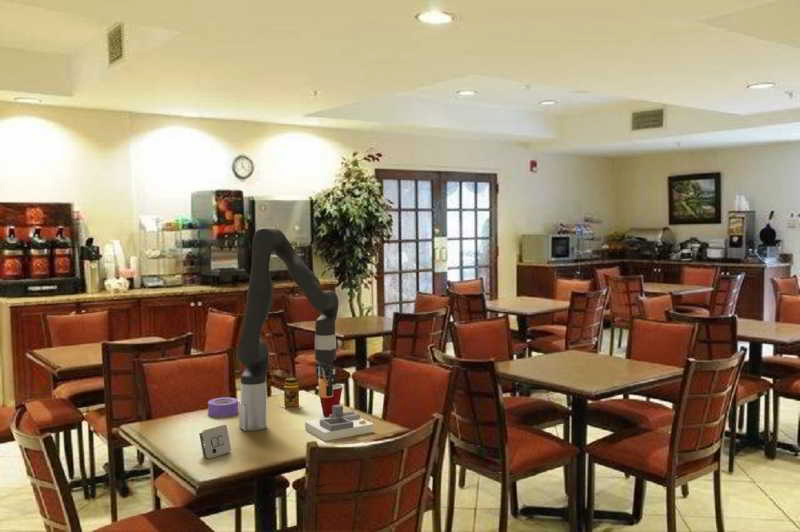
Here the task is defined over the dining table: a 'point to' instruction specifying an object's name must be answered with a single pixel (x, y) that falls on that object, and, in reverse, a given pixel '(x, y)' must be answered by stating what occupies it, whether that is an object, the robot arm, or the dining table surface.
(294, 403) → the condiment
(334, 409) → the breaker toggle
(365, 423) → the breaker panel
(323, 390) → the cap
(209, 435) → the electrical switch
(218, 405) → the tape roll
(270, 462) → the dining table surface
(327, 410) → the plastic cup
